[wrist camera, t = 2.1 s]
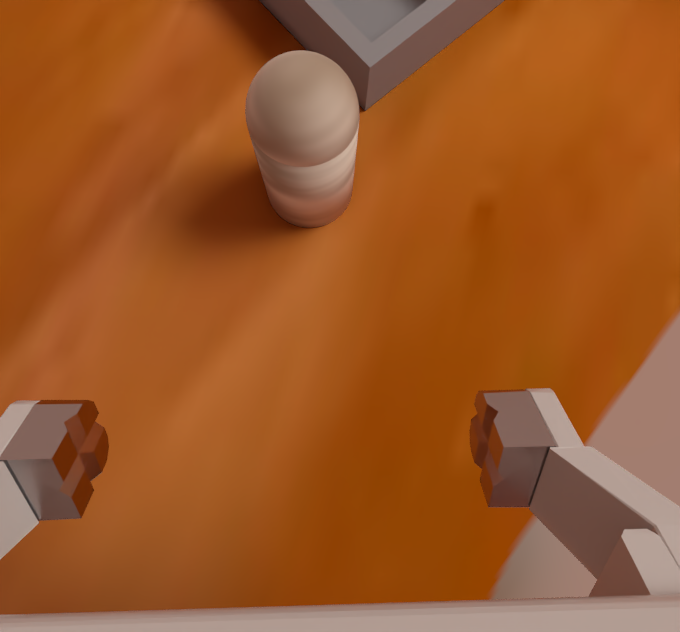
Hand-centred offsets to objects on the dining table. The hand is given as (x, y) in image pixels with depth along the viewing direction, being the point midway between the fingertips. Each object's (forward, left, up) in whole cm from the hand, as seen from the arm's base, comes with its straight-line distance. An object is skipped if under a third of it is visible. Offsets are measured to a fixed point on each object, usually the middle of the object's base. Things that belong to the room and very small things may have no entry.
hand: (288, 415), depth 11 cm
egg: (-10, +8, -16) cm, 20 cm away
